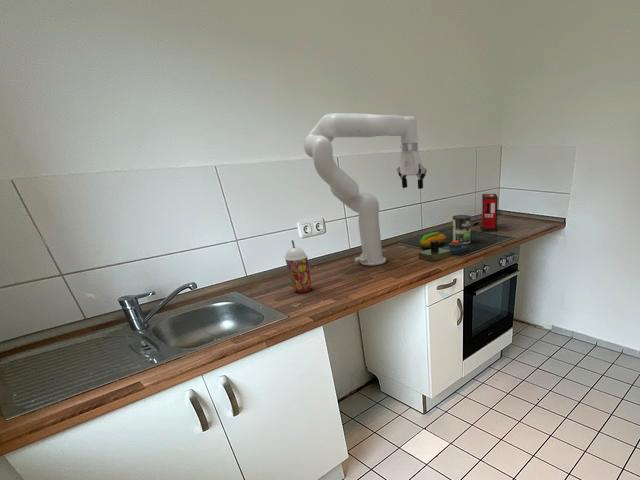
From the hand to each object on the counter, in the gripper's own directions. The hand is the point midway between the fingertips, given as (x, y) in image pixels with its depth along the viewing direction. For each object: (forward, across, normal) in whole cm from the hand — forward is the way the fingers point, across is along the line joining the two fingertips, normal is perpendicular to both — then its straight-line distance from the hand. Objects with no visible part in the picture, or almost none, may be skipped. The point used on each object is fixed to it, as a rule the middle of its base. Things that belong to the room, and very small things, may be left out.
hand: (412, 188), depth 186 cm
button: (+28, +15, +13) cm, 35 cm away
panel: (+32, +13, -2) cm, 34 cm away
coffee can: (+32, +8, +32) cm, 46 cm away
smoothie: (+31, -6, -68) cm, 75 cm away
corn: (+32, -1, +16) cm, 36 cm away
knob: (+29, +13, -2) cm, 31 cm away
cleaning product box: (+33, +4, +71) cm, 79 cm away
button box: (+32, +15, +13) cm, 38 cm away
